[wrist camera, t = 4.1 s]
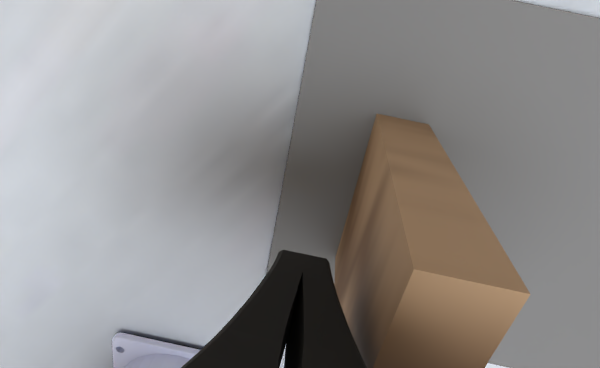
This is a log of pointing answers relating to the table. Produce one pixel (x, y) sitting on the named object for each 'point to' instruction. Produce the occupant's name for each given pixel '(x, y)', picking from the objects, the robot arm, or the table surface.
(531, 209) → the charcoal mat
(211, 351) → the robot arm
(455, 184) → the walnut slab
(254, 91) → the table surface
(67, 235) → the table surface
